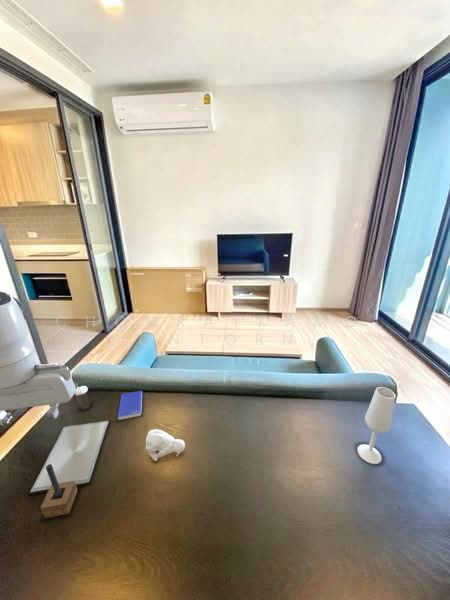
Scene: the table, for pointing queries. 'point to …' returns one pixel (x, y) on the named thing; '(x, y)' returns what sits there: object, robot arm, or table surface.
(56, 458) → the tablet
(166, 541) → the table surface
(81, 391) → the milkshake
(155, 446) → the white animal figurine
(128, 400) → the hard drive
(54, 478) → the stylus
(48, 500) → the stand
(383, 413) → the champagne flute
